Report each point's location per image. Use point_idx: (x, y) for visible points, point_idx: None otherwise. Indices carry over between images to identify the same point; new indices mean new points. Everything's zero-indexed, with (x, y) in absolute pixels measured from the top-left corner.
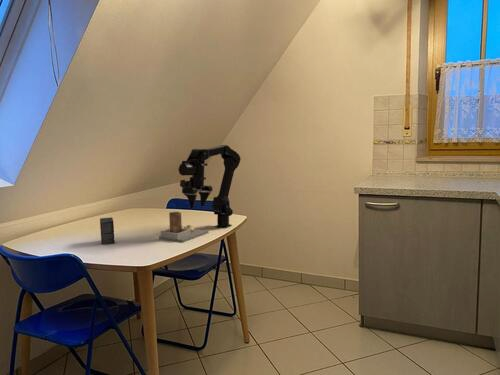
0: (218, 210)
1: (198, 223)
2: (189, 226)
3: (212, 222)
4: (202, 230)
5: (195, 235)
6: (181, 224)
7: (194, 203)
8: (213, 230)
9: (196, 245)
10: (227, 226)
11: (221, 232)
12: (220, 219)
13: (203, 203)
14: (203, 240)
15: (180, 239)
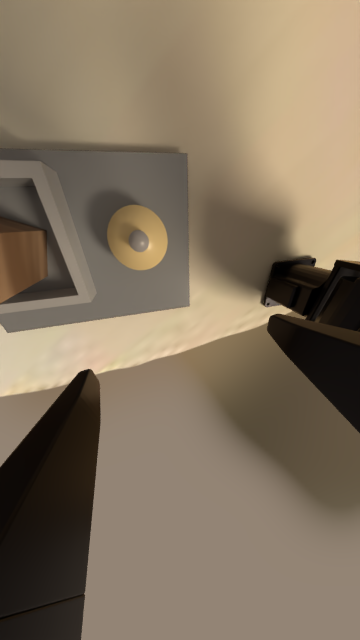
0: (321, 319)
1: (336, 116)
2: (134, 249)
3: (352, 189)
4: (182, 283)
5: (103, 317)
6: (9, 297)
7: (91, 458)
8: (224, 293)
9: (39, 379)
10: (275, 305)
11: (210, 330)
12: (287, 302)
13: (286, 353)
14: (98, 356)
15: (3, 317)
